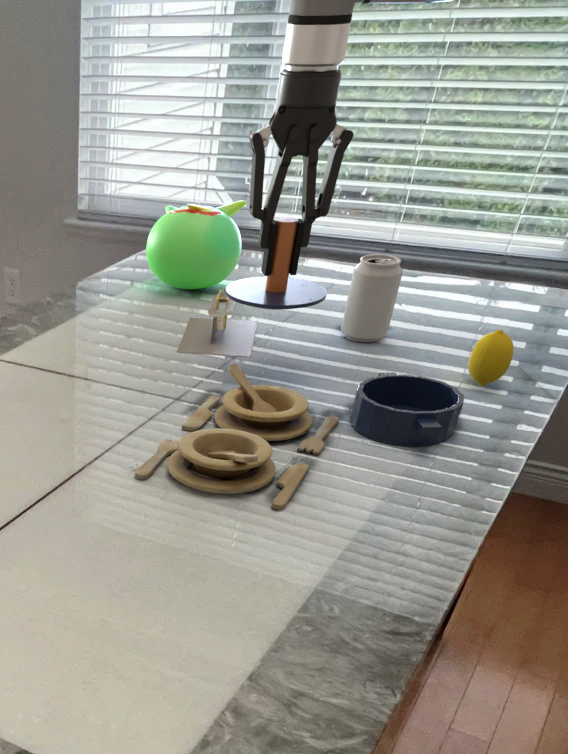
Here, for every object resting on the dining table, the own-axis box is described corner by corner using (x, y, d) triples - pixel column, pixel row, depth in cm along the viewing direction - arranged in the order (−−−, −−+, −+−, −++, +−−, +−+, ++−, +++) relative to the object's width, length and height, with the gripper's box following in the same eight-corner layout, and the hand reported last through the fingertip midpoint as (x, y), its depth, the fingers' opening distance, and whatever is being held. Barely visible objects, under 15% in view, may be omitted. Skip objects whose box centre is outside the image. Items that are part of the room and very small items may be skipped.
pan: (426, 397, 122) (436, 366, 119) (476, 454, 108) (488, 420, 105) (334, 399, 123) (341, 368, 120) (371, 456, 109) (380, 422, 106)
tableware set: (281, 513, 99) (291, 465, 95) (128, 479, 106) (130, 434, 102) (342, 419, 118) (352, 376, 114) (208, 396, 125) (213, 355, 121)
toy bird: (133, 294, 163) (138, 207, 153) (158, 271, 174) (164, 188, 164) (225, 303, 157) (236, 213, 147) (244, 278, 168) (256, 193, 158)
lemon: (498, 395, 122) (519, 338, 117) (458, 389, 124) (476, 332, 119) (503, 382, 126) (523, 326, 120) (464, 376, 128) (482, 321, 122)
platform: (257, 321, 149) (263, 281, 145) (250, 356, 136) (256, 313, 132) (190, 317, 152) (194, 277, 147) (176, 352, 139) (180, 309, 135)
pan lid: (311, 282, 128) (326, 206, 122) (336, 312, 118) (353, 231, 111) (217, 285, 129) (226, 209, 122) (233, 314, 118) (244, 234, 111)
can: (358, 326, 146) (376, 249, 138) (395, 337, 141) (415, 258, 133) (330, 335, 143) (346, 257, 135) (367, 347, 138) (386, 267, 130)
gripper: (367, 62, 108) (327, 264, 124) (241, 66, 108) (218, 267, 124) (385, 68, 102) (341, 278, 118) (252, 72, 103) (226, 281, 118)
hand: (278, 272), depth 121 cm, fingers closed on pan lid, 3 cm apart
